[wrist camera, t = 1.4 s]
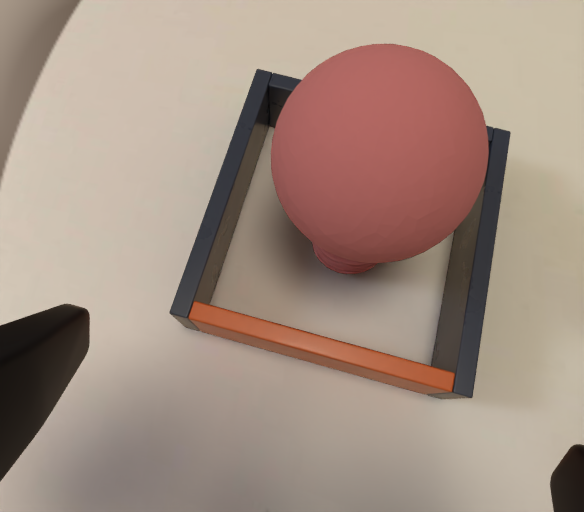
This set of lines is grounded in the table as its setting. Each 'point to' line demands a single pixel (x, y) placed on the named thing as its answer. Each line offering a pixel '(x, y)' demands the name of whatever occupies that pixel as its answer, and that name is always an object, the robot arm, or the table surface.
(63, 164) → the table surface
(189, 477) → the table surface
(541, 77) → the table surface
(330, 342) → the square frame
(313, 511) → the table surface
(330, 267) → the pink screw bulb
